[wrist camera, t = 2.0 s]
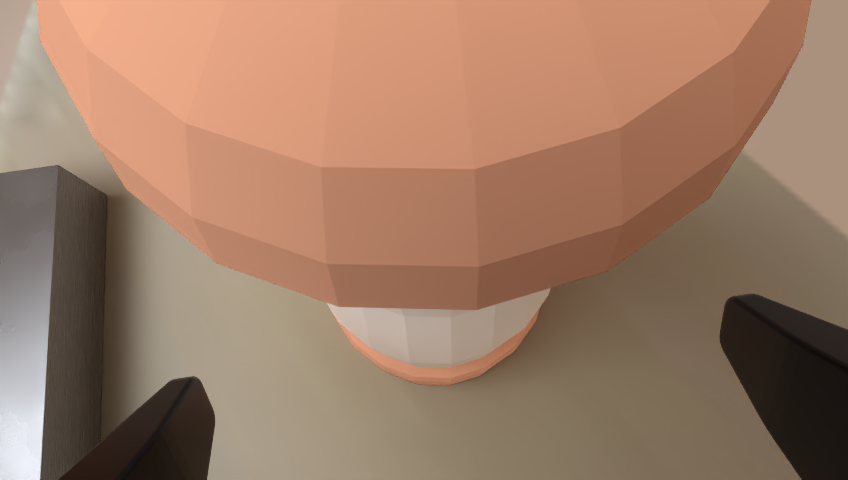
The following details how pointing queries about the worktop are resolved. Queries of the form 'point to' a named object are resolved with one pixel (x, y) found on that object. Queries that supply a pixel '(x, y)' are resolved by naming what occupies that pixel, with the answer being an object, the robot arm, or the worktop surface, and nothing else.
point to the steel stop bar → (50, 321)
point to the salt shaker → (423, 143)
